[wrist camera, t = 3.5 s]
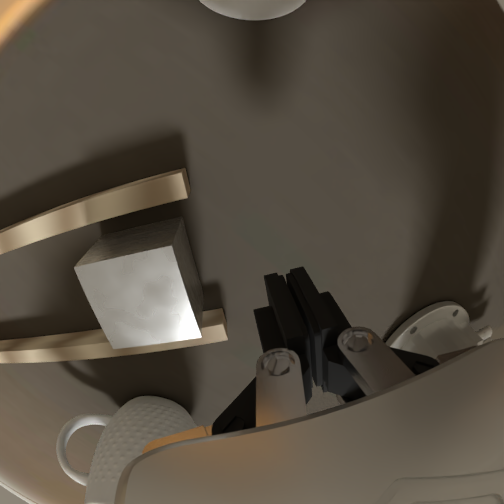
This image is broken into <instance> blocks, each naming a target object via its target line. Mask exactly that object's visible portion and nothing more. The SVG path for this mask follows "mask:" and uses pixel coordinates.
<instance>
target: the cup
mask: <svg viewBox="0 0 504 504" xmlns="http://www.w3.org/2000/svg"><path fill="white" fill-rule="evenodd" d="M199 1H200V2H201V3H202V4H204V5H205V6H206V7H208V8H209V9H211V10H213V11H215V12H217V13H219V14H222V15H225V16H228V17H231V18H236V19H242V20H267V19H273V18H277V17H281V16H284V15H286V14H289V13H291V12H293V11H294V10H296V9H297V8H299V7H300V6H301V5H302V4H303V3H304V2H305V1H306V0H199Z"/></svg>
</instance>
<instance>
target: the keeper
mask: <svg viewBox="0 0 504 504" xmlns="http://www.w3.org/2000/svg"><path fill="white" fill-rule="evenodd" d="M74 269H75V272H76V274H77V276H78V279H79V281H80V283H81V286H82V288H83V290H84V292H85V294H86V297H87V299H88V301H89V303H90V305H91V307H92V309H93V311H94V313H95V315H96V317H97V319H98V321H99V323H100V325H101V327H102V329H103V331H104V333H105V335H106V337H107V339H108V340H109V342H110V344H111V346H112V348H113V349H120V348H129V347H137V346H145V345H153V344H160V343H168V342H174V341H181V340H188V339H194V338H200V337H202V318H203V299H204V293H203V290H202V286H201V283H200V279H199V276H198V272H197V269H196V265H195V262H194V258H193V255H192V251H191V247H190V243H189V240H188V236H187V232H186V228H185V225H184V221H183V217H182V216H181V217H177V218H173V219H168V220H164V221H159V222H155V223H151V224H147V225H143V226H138V227H134V228H130V229H126V230H122V231H118V232H114V233H110V234H106V235H102V236H101V237H100V238H99V239H98V240H97V242H96V243H95V244H94V245H93V246H92V247H91V248H90V249H89V250H88V252H87V253H86V254H85V255H84V256H83V257H82V258H81V260H80V261H79V262H78V263H77V264H76V265H75V267H74Z"/></svg>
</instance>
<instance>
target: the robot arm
mask: <svg viewBox="0 0 504 504" xmlns="http://www.w3.org/2000/svg"><path fill="white" fill-rule="evenodd" d="M286 279H287V283H286V281H285V279H284V277H283V275H280V276H278V274H277V273H273V274H269V275H264V280H265V285H266V290H267V296H268V301H269V306H267V307H263V308H258V309H254V315H255V319H256V323H257V328H258V332H259V336H260V341H261V345H262V349H263V354H262V355H261V356H260V357H259V359H258V360H257V364H256V377H255V378H254V379H253V380H252V381H251V383H250V384H249V385H248V386H247V387H246V388H245V389H244V390H243V391H242V392H241V393H240V395H239V396H238V397H237V398H236V399H235V400H234V401H233V402H232V403H231V404H230V405H229V406H228V407H227V408H226V409H225V410H224V412H223V413H222V414H221V415H220V416H219V417H218V418H217V419H216V420H215V422H214V423H213V425H210V426H207V427H204V426H203V425H202V426H199V427H196V428H193V429H189V430H186V431H183V432H180V433H177V434H173V435H170V436H166V437H163V438H159V439H156V440H153V441H151V442H149V443H148V444H147V445H146V446H145V447H144V449H143V451H142V455H140V456H138V457H137V458H135V459H133V460H132V461H131V462H130V463H128V464H127V466H126V467H125V468H124V470H123V471H122V473H121V476H120V478H119V481H118V485H117V489H116V494H115V501H114V504H504V338H500V339H496V340H492V339H491V337H490V336H491V335H492V329H491V327H490V326H486V327H484V328H482V329H480V330H479V331H477V332H476V331H474V330H473V329H472V328H471V327H470V320H469V316H468V313H467V312H466V310H465V309H464V308H463V307H462V306H461V305H459V304H458V303H456V302H453V301H444V302H438V303H435V304H433V305H430V306H428V307H426V308H424V309H422V310H420V311H419V312H417V313H416V314H414V315H413V316H412V317H410V318H409V319H408V320H406V321H405V322H404V323H403V324H402V325H401V326H400V327H399V328H398V329H397V330H396V331H395V332H394V333H393V334H392V335H391V336H390V338H389V339H388V340H387V342H386V343H384V342H383V341H382V340H381V339H380V338H379V337H378V336H377V335H376V333H375V332H373V331H372V330H371V329H368V328H365V327H351V325H350V324H349V322H348V321H347V319H346V317H345V316H344V314H343V313H342V311H341V309H340V308H339V306H338V305H337V303H336V302H335V300H334V298H333V297H332V295H331V294H330V293H329V292H328V291H327V292H324V293H320V294H319V292H318V290H317V289H316V287H315V285H314V284H313V282H312V280H311V279H310V277H309V275H308V274H307V272H306V270H305V269H304V267H299V268H294V269H290V273H288V274H286ZM312 377H313V380H314V382H315V385H316V386H321V387H322V390H323V392H327V391H328V392H331V393H334V394H336V397H337V400H338V402H339V403H340V405H339V406H336V407H333V408H330V409H326V410H323V411H320V412H316V413H313V414H309V415H307V410H306V404H307V403H308V401H309V400H310V398H311V397H312V389H311V388H313V383H312Z"/></svg>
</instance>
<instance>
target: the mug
mask: <svg viewBox="0 0 504 504" xmlns="http://www.w3.org/2000/svg"><path fill="white" fill-rule="evenodd" d="M91 424H99V425H104V426H106V428H105V429H104V431H103V434H102V435H101V437H100V440H99V442H98V445H97V447H96V451H95V453H94V457H93V460H92V464H91V469H90V473H89V474H88V473H83V472H79V471H77V470H75V469H73V468H72V467H71V466H70V464H69V463H68V461H67V458H66V444H67V441H68V439H69V437H70V436H71V434H72V433H73V432H74V431H75V430H77V429H78V428H80V427H82V426H86V425H91ZM196 427H197V426H196V424H195V422H194V421H193V419H192V417H191V416H190V415H189V413H188V412H187V411H186V410H185V409H184V408H183V407H182V406H180V405H179V404H177V403H176V402H174V401H172V400H169V399H166V398H162V397H158V396H140V397H136V398H134V399H131V400H130V401H128V402H127V403H126V404H124V405H123V406H122V407H121V408H120V409H119V410H118V411H117V412H116V413H115V414H114V416H111V415H103V414H83V415H79V416H77V417H74V418H72V419H71V420H69V421H68V422H67V423H66V424H65V425H64V426H63V428H62V429H61V431H60V433H59V436H58V439H57V444H56V451H57V456H58V460H59V463H60V465H61V467H62V469H63V470H64V471H65V473H66V474H67V475H68V476H69V477H71V478H72V479H73V480H75V481H76V482H78V483H80V484H82V485H85V486H87V490H86V496H85V503H84V504H114V501H115V494H116V489H117V485H118V481H119V478H120V476H121V473H122V471H123V470H124V468H125V467H126V466H127V464H128V463H130V462H131V461H132V460H133V459H135V458H137V457H138V456H140V455H142V451H143V449H144V447H145V446H146V445H147V444H148V443H149V442H151V441H153V440H156V439H159V438H163V437H166V436H170V435H173V434H177V433H180V432H183V431H186V430H189V429H193V428H196Z"/></svg>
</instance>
